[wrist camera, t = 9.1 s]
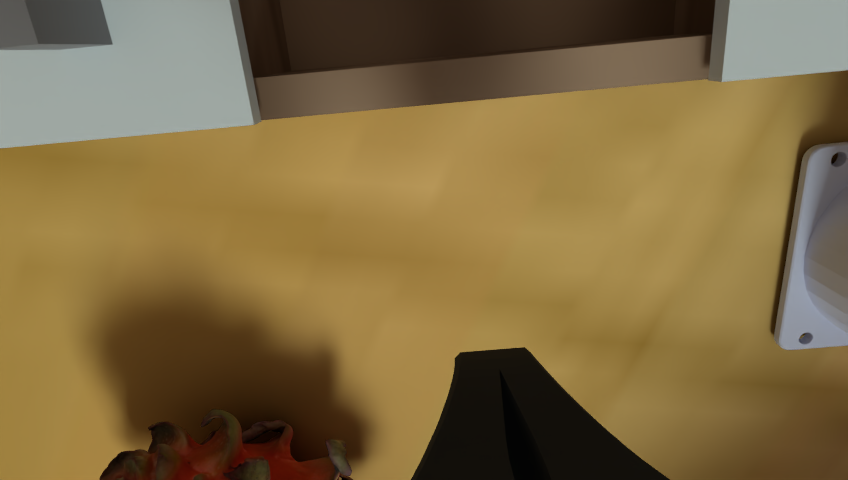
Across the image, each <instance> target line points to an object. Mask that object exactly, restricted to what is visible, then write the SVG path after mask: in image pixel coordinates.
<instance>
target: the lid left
mask: <svg viewBox="0 0 848 480" xmlns="http://www.w3.org/2000/svg"><path fill="white" fill-rule="evenodd" d="M259 122H261V117H260V111H259V106H258V101H257V96H256V91H255V85H254V80H253V75H252V70H251V65H250V59H249V54H248V49H247V44H246V39H245V34H244V28H243V23H242V18H241V13H240V8H239V2H238V0H0V148H8V147H18V146H29V145H40V144H51V143H62V142H73V141H84V140H94V139H105V138H116V137H127V136H138V135H149V134H160V133H171V132H181V131H192V130H203V129H214V128H225V127H236V126H247V125H255V124H257V123H259Z"/></svg>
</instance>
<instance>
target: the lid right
mask: <svg viewBox="0 0 848 480" xmlns="http://www.w3.org/2000/svg"><path fill="white" fill-rule="evenodd" d="M845 70H848V0H716V1H715V12H714V23H713V34H712V45H711V55H710V66H709V77H708V80H710V81H719V82H725V81H736V80H747V79H758V78H769V77H779V76H790V75H801V74H812V73H823V72H834V71H845Z"/></svg>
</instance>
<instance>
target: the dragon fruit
mask: <svg viewBox="0 0 848 480" xmlns="http://www.w3.org/2000/svg"><path fill="white" fill-rule="evenodd" d="M214 418H223V419H224V421H223V424H222V425H221V427H220V429H219V430H218V431H217V432H215V431H213V432H212V433H211V435H209V436H208V438H207V440H206V441H205V442H203V443H202V444H198V443H196V442H195V441H194V440H193V439H192V438H191V436H190V435H189V434H188V433H187V432H186V431H185V430H184V429H183V428H182V427H180V426H177V425H175V424H172V423H170V422H159V423H156V424H154V425H151V426H150V427H148V429H149V430H151V435H152V439H153V440H152V443H151V445H150V447H149V450H148V452H147V451H145V450H141V449H139V450H135V451H124V452H121V453H119V454H118V455H117V456H116V457H115V458H114V459H113V460H112V461H111V462H110V463H109V465H108V467H107V468H106V469H105V470H104V472H103V473H102V475H101V476H100V480H338V479H339V477H341V478H342V480H353V479H351V478H350V477H348V476H350V475H351V472H352V470H351V467H350V465H349V463H348V461H347V459H346V458H345V455H346V454H347V451H346V450H345V448H344V447H345V446H346V443H345V442H344V441H343V440H333V439H327V440H326V441H325V442H326V446H327V449H328V452H329V454H328V456H329V457H322V458H319V459H315V460H309V461H304V462H296V461H295V460H294V459H293V458H292V456H291V454H290V442H291V440H292V437H293V429H292V427H291V426H290V425H288V424H286V423H285V422H283V421H280V420H275V421H273V422H268V421H261V422H257V423H255V424H253V425H252V426H251V428H250V429H249V430H246V431H244V432H242V429H241V426H240V424H239V422H238V420H237V419H236V418H235V417H234V416H233V415H232V414H230V413H229V412H226V411H224V410H220V409H212V410H211V411H210V412H209V413H208V414H207V415H206V416H205V417H204V418H203V420H202V423H201V427H203V426H205V425H207V424H208V423H210V421H211V420H212V419H214ZM269 431H274V432H280V433H279V434H278V435H276V436H275V437H273V438H272V439H271V440H269V441H268V442H264V443H245V442H246V441H249V440H252V439H255V438H257V437H258V436H260V435H262V434H264V433H266V432H269Z"/></svg>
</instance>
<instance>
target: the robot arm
mask: <svg viewBox="0 0 848 480" xmlns="http://www.w3.org/2000/svg"><path fill="white" fill-rule="evenodd" d="M836 153H838V158H837V160H836V161H835V162H834V163H833V164H831V159H832V156H833V155H834V154H836ZM803 333H806V334H805V336H804V337H802V338H800V336H801V335H802V334H803ZM799 338H800V339H799ZM774 340H775V342H776V343H777V344H778V345H779V346H780V347H781V348H783V349H785V350H797V349H809V348H822V347H835V346H848V142H840V143H829V144H819V145H815V146H813V147H811V148H810V149H808V150H807V151H806V153H805V154H804V156H803V159H802V164H801V170H800V176H799V183H798V189H797V195H796V201H795V208H794V214H793V220H792V226H791V233H790V239H789V245H788V252H787V258H786V264H785V270H784V277H783V283H782V289H781V295H780V302H779V308H778V314H777V321H776V327H775V333H774ZM411 480H670V479H668V478H667V477H666V476H664V475H663V474H661V473H660V472H659V471H657V470H656V469H655V468H653V467H652V466H650V465H649V464H648V463H646V462H645V461H643V460H642V459H641V458H640V457H638V456H637V455H636V454H635V453H633V452H632V451H631V450H630V449H628V448H627V447H626V446H625V445H624V444H623V443H621V442H620V441H619V440H618V439H617V438H616V437H614V436H613V435H612V434H611V433H610V432H608V431H607V430H606V429H605V428H604V427H603V426H602V425H601V424H600V423H598V422H597V421H596V420H595V419H594V418H593V417H592V416H591V415H590V414H589V413H588V412H587V411H586V410H585V409H584V408H583V407H581V406H580V405H579V404H578V403H577V402H576V401H575V400H574V399H573V398H572V397H571V396H570V395H569V394H568V393H567V392H566V391H565V390H564V389H563V388H562V387H561V386H560V385H559V384H558V383H557V381H556V380H555V379H554V378H553V377H552V376H551V375H550V374H549V373H548V372H547V371H546V370H545V369H544V367H543V366H542V365H541V364H540V363H539V362H538V361H537V359H536V358H535V357H534V356H533V355H532V354H531V352H529V351H528V350H527V349H526V348H525V347H524V348H511V349H498V350H486V351H473V352H460V353H459V354H458V356H457V357H456V358H455V368H454V374H453V379H452V383H451V387H450V390H449V394H448V397H447V400H446V403H445V405H444V408H443V411H442V414H441V416H440V419H439V422H438V424H437V427H436V429H435V431H434V434H433V436H432V438H431V440H430V442H429V445H428V447H427V449H426V451H425V453H424V455H423V458H422V460H421V462H420V464H419V466H418V467H417V469H416V471H415V473H414V475H413V477H412V479H411Z"/></svg>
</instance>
